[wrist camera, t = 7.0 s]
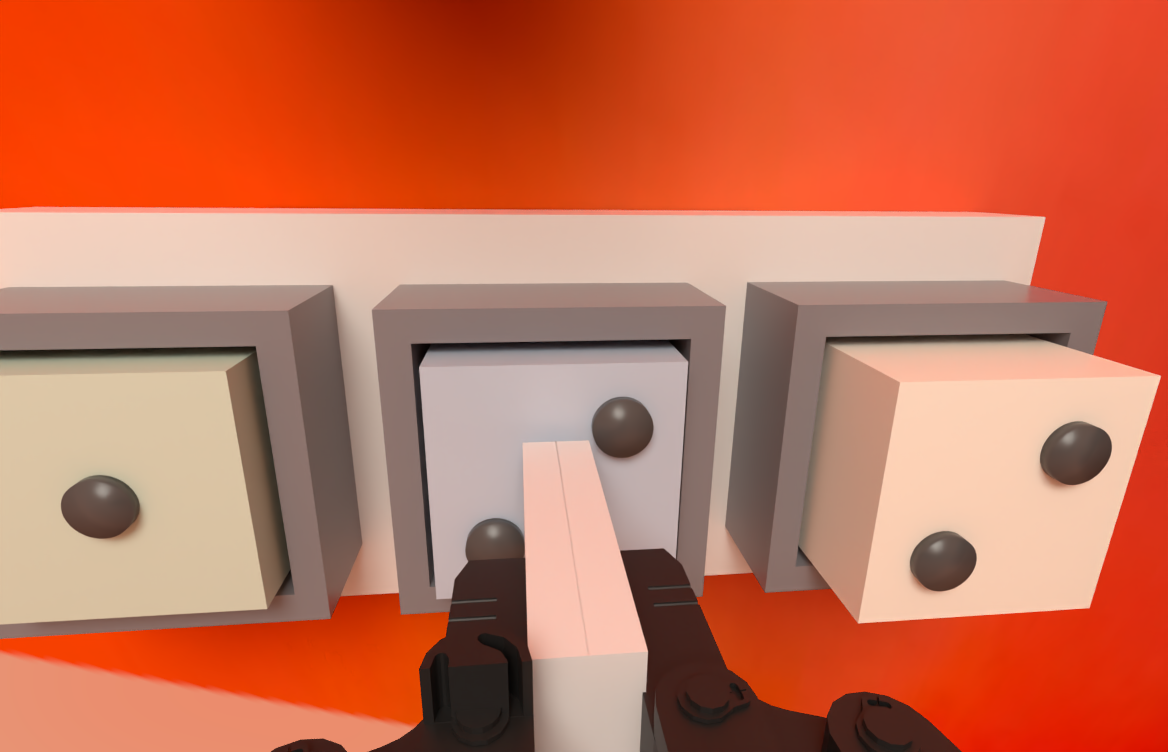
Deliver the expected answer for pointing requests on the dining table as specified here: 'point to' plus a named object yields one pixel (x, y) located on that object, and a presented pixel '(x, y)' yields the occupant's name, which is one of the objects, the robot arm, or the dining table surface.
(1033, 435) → the button two dot
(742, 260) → the button panel
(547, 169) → the dining table surface
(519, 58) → the dining table surface
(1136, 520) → the dining table surface
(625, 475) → the button three dot
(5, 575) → the button one dot
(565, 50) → the dining table surface
